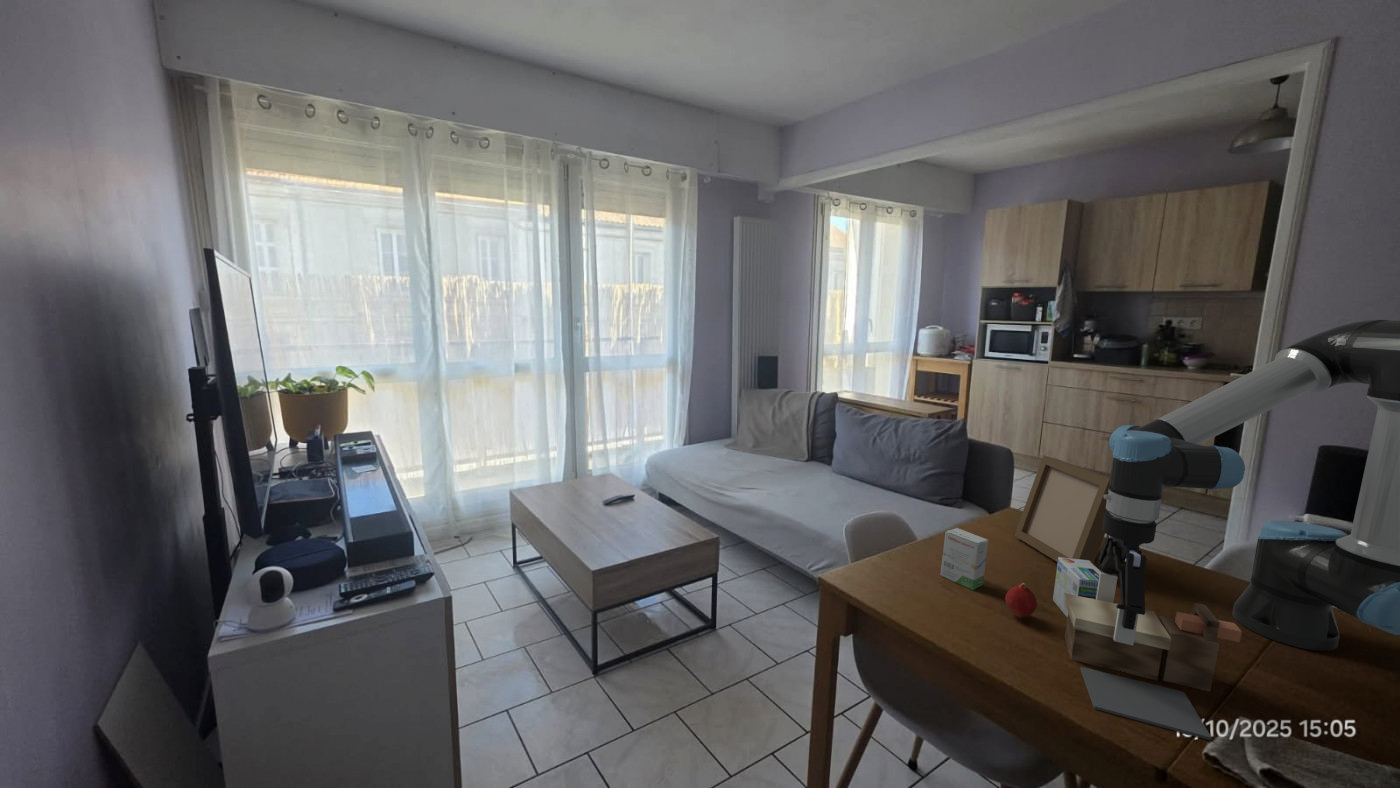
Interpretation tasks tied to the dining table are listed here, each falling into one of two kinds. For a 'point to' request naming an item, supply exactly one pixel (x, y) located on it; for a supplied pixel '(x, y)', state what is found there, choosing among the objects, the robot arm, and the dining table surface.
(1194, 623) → the orange rectangular block
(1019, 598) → the onion
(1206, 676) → the wooden box
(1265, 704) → the dining table surface
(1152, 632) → the lid
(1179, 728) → the mat
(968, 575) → the ink box
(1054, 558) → the photo frame
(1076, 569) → the light bulb box
